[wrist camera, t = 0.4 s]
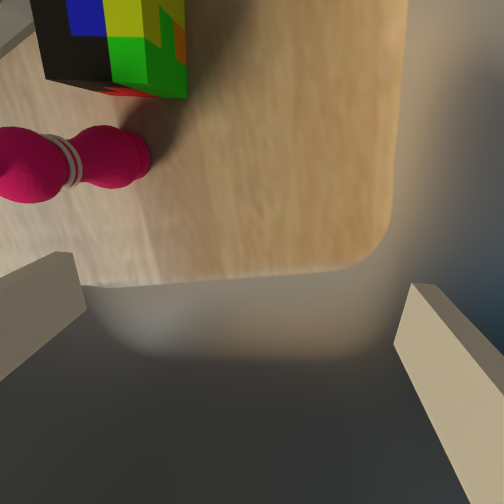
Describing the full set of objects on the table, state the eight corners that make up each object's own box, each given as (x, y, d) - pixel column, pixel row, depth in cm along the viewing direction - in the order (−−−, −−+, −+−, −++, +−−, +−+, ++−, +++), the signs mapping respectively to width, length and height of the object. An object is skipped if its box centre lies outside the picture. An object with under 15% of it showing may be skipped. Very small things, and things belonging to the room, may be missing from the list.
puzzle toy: (98, -7, 30) (15, -70, 21) (184, -7, 29) (134, -73, 20) (111, 95, 34) (45, 79, 25) (187, 98, 33) (147, 83, 24)
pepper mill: (143, 193, 39) (8, 241, 20) (98, 165, 38) (-84, 188, 20) (162, 146, 36) (26, 153, 17) (113, 115, 35) (-81, 89, 17)
